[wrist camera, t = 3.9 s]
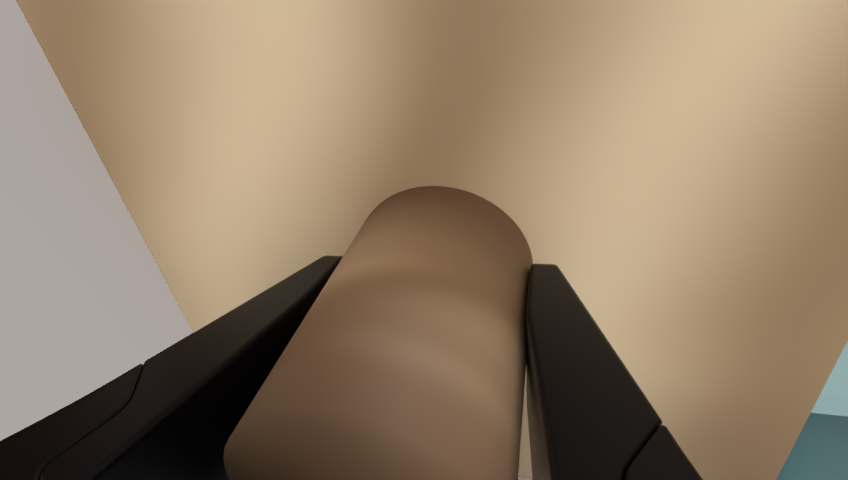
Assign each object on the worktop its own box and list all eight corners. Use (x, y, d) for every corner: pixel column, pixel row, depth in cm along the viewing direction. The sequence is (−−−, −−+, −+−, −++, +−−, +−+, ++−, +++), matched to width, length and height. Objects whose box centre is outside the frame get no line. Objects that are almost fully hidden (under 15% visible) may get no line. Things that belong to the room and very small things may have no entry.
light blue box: (870, 299, 19) (955, 405, 15) (781, 472, 25) (823, 578, 21) (552, 283, 22) (551, 367, 18) (547, 440, 28) (545, 528, 24)
